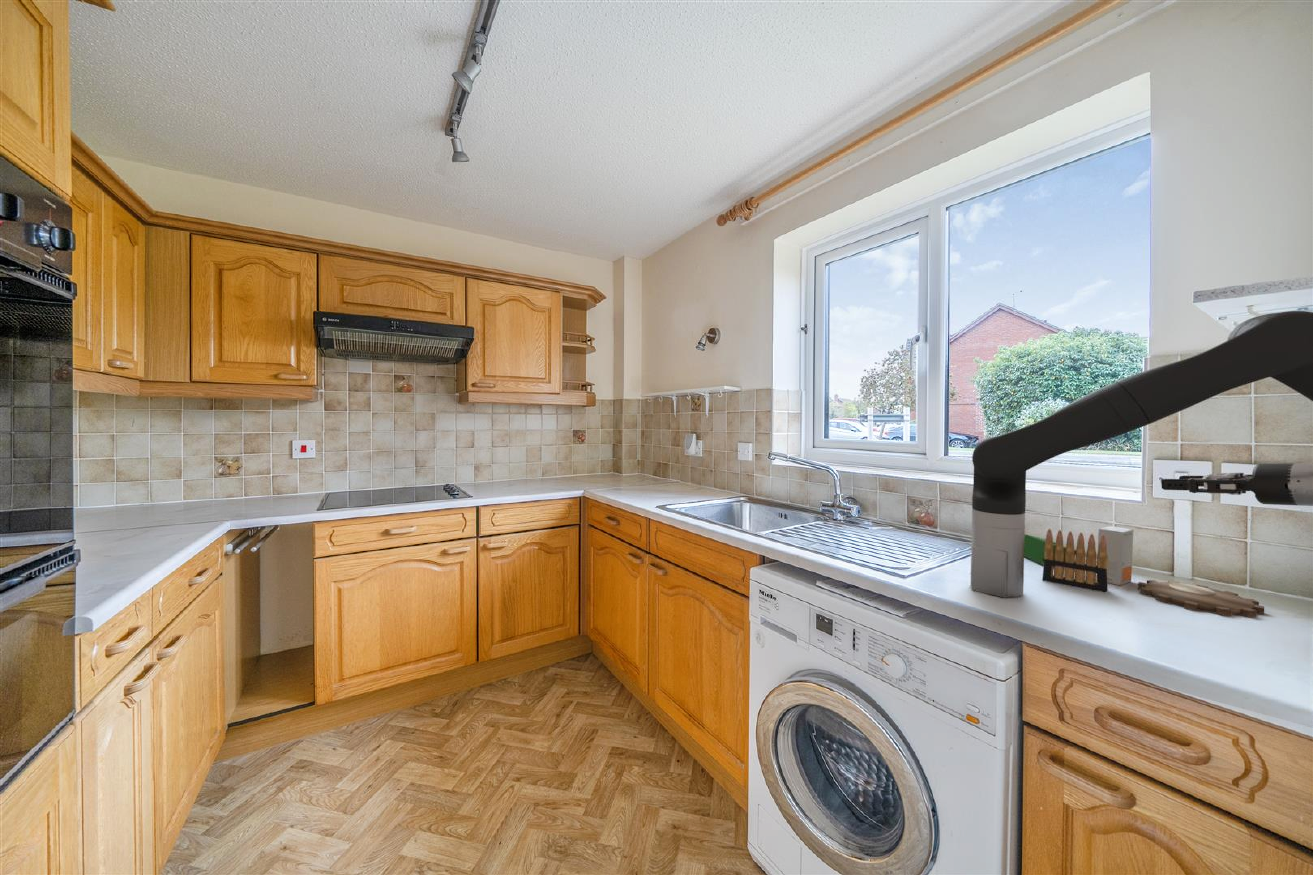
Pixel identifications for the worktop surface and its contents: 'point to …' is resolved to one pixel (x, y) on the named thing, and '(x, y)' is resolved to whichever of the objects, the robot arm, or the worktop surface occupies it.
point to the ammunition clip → (1076, 562)
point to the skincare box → (1118, 553)
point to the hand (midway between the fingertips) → (1171, 482)
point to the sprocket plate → (1201, 598)
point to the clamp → (1036, 548)
